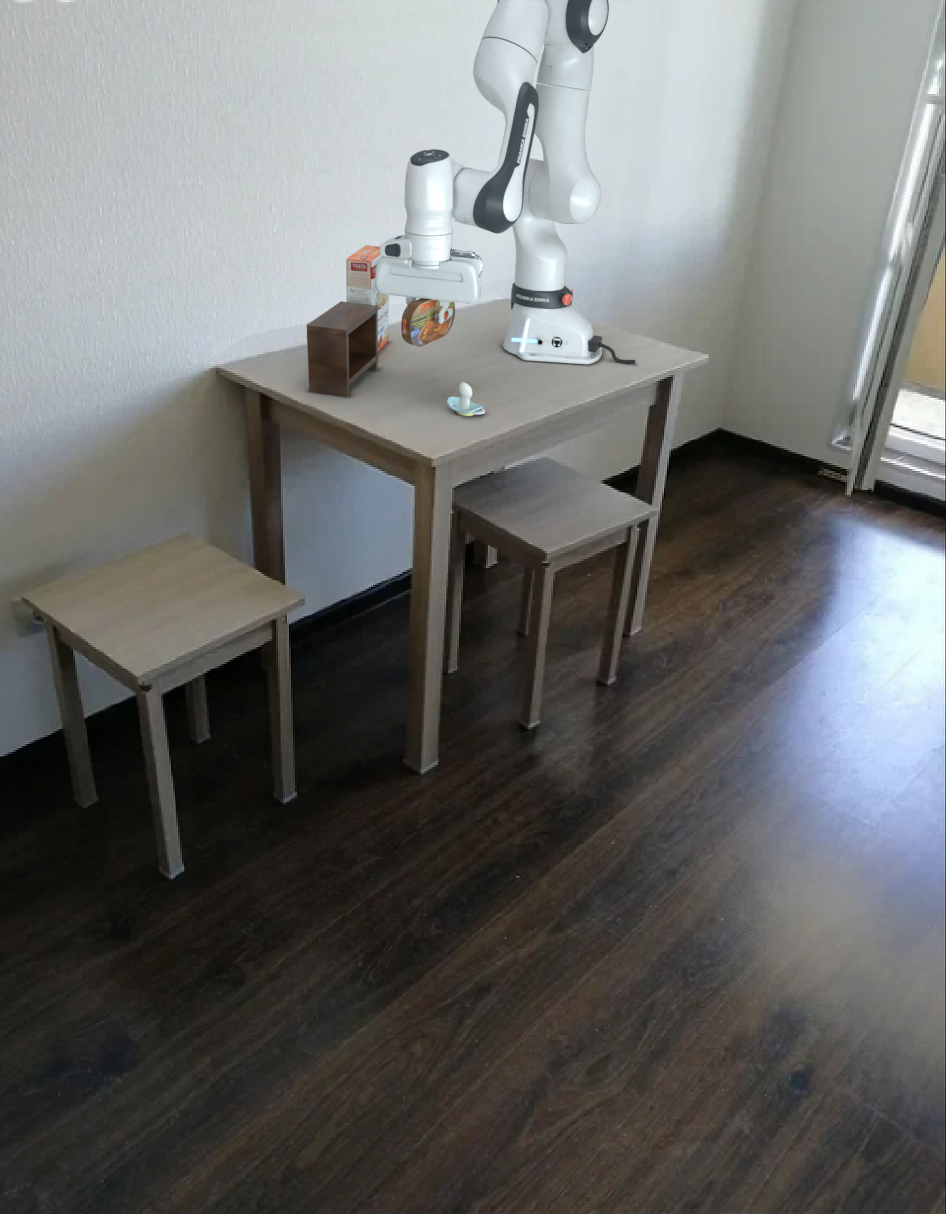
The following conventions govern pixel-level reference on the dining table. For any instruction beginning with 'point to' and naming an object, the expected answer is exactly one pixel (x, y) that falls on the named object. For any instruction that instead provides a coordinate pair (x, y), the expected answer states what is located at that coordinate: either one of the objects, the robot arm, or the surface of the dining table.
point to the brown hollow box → (342, 347)
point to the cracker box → (367, 287)
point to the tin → (425, 322)
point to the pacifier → (465, 402)
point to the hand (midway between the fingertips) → (427, 321)
